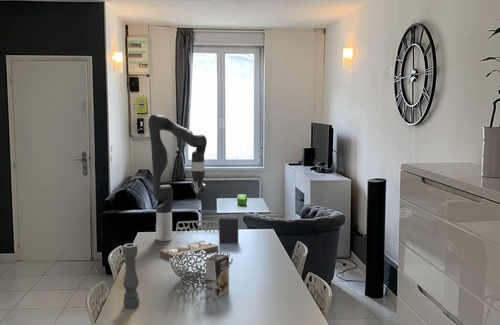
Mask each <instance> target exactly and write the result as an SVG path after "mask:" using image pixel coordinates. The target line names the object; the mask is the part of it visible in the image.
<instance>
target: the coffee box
mask: <svg viewBox="0 0 500 325" xmlns="http://www.w3.org/2000/svg"><path fill="white" fill-rule="evenodd" d="M229 292H230V256H229V255H226V254H225V255H224V254H219V253H216V254H214V255H212V256H209V257H207V258H205V295H206V297H207V296H208V297H212V298H214V299H217V298H220V297H222V296H223V295H225V294H227V293H229Z"/></svg>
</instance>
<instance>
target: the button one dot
mask: <svg viewBox="0 0 500 325" xmlns="http://www.w3.org/2000/svg"><path fill="white" fill-rule="evenodd" d="M208 242H209V241H206V242H202V243H200V245H201V246H208V245H209V243H210V242H209V243H208Z"/></svg>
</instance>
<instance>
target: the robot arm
mask: <svg viewBox="0 0 500 325" xmlns="http://www.w3.org/2000/svg"><path fill="white" fill-rule="evenodd" d="M147 123H148V130H149V131H148V132H149V137H150V146H151V147H150V148H151V162H152V163H151V164H152V177H153V178H152V194H153V196H152V197H153V199H154V201H155V202H162V201H163V202H162V203H161V204H160V205H157V206H156V208H155V213H156V214H155V215H156V216H155V218H156V223H155V238H156V240H157V241H158V242H168V241H172V240H173V212H172V211H173V193H174V192H173V188H172V186H171V185H170V184H161V179H162V177H163V174H164V172H165V170H166V168H167V166H168V163H169V162H168V161H169V159H168V150H167V148H166V147H165V144H164V142H163V141H162V138H161V131H165V132H166V131H167V132H170V133H171V134H172V135H174V137H175V138H178V139H179V140H181V141H184V142H185V143H186V144H187V145H188V146H190V147H192V148H195V150H194V151H192V153H191V165H190V166H191V178H192V181H191V182H190V186H191V188H192V191H193V192H195V200H197V201H199V200H202V199H201V198H202V194H203V193H204V191H205V189H206V188H207V184H205V183H204V179H205V178H206V177H205V176H206V173H205V172H206V171H205V170H206V169H205V168H206V167H205V151H206V150H207V149H206V148H207V145H208V144H207V143H208V141H207V140H208V139H207V137H206V136H205V135H204V134H201V133H200V134H194V133H193V131H192V130H189V129H188V128H186V127H184V126H181V125H180V124H177V123H176V122H174V121H172V120H171V119H170V118H168V117H167V116H165V115H164V114H151V115H150V116H149V118H148V122H147Z"/></svg>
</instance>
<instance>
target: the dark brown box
mask: <svg viewBox="0 0 500 325" xmlns="http://www.w3.org/2000/svg"><path fill="white" fill-rule="evenodd" d="M218 231H219V232H218V233H219V234H218V235H219V236H218V242H219V244H223V245H238V243H239V218H238V217H219V219H218Z"/></svg>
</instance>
